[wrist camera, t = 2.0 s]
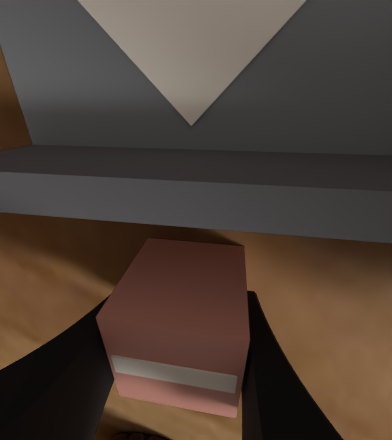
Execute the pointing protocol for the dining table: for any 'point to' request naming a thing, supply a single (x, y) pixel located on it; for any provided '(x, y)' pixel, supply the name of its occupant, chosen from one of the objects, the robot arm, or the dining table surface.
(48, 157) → the tray
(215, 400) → the red cube
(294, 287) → the dining table surface
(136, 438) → the flowerpot
